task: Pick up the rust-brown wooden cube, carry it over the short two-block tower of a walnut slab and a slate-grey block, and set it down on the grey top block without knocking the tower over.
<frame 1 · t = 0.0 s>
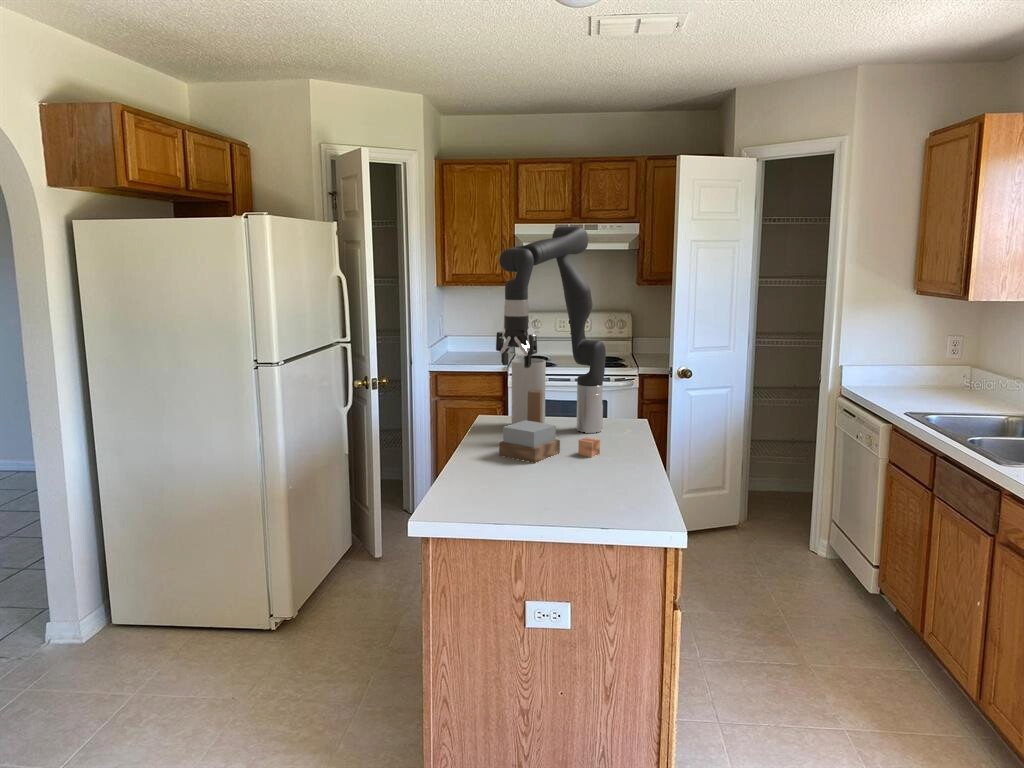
hand: (516, 366, 230), 29 cm above the countertop, tool pointing down, fingers open, 8 cm apart
tower top block: (529, 441, 237), point 5 cm above the countertop
wooden block: (541, 443, 254), on the countertop
tower base block: (529, 456, 238), on the countertop
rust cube: (589, 454, 239), on the countertop
cylinder vase: (528, 427, 276), on the countertop
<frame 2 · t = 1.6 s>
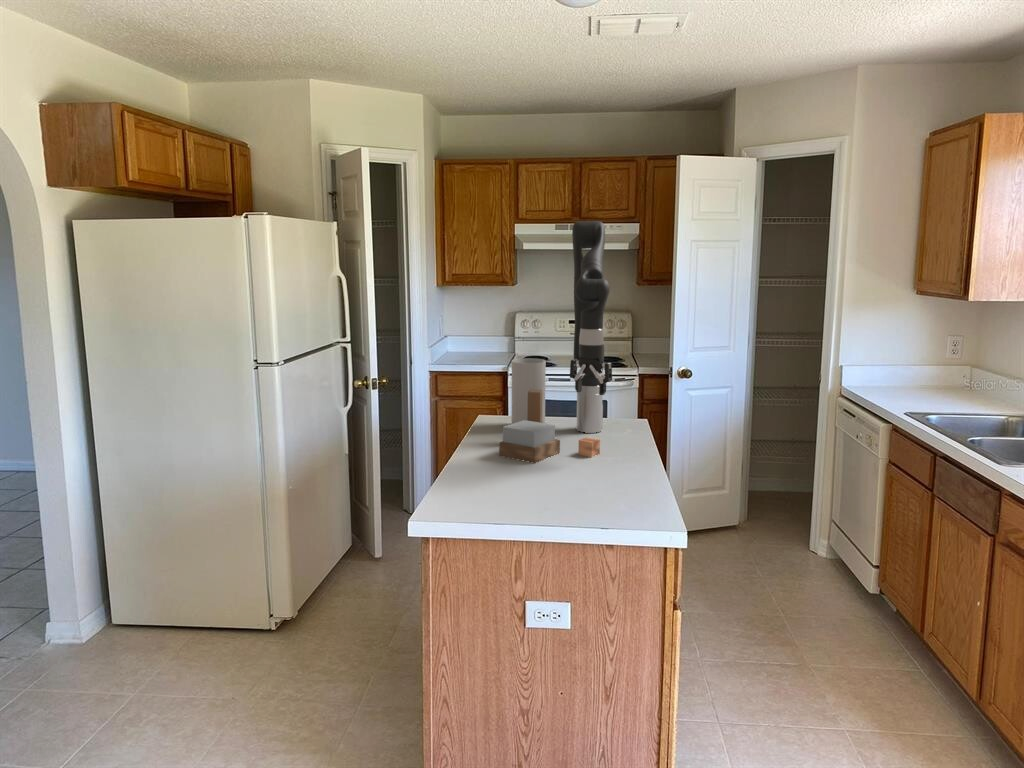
hand: (590, 393, 235), 20 cm above the countertop, tool pointing down, fingers open, 8 cm apart
tower top block: (528, 441, 238), point 5 cm above the countertop, touching tower base block
tower base block: (529, 456, 238), on the countertop, touching tower top block
everything else where it was.
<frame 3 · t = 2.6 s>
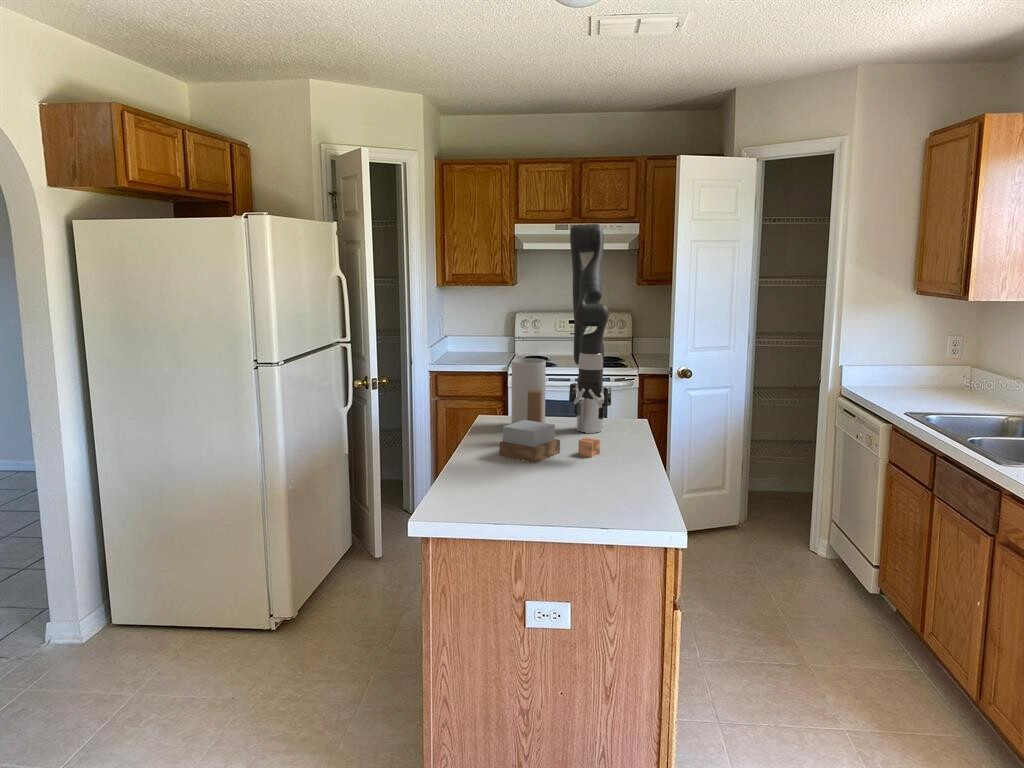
hand: (589, 417, 236), 12 cm above the countertop, tool pointing down, fingers open, 8 cm apart
tower top block: (528, 440, 238), point 5 cm above the countertop
tower base block: (529, 455, 238), on the countertop
everything else where it was.
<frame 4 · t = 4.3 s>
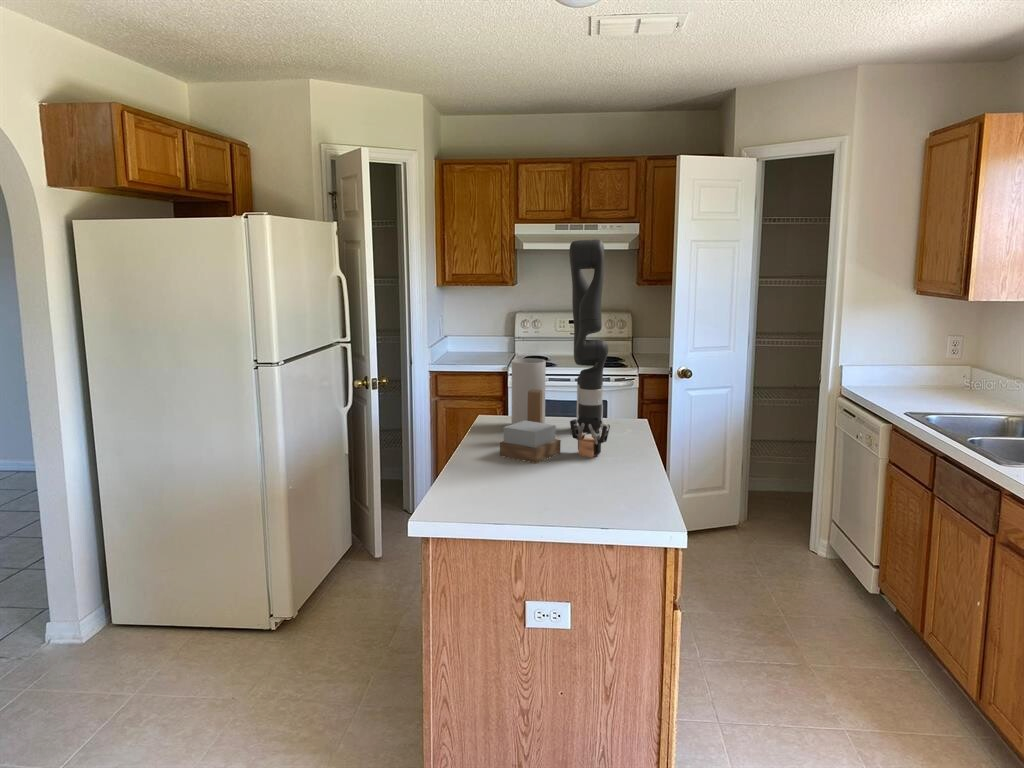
hand: (589, 453, 239), 0 cm above the countertop, tool pointing down, fingers closed on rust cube, 5 cm apart
tower top block: (529, 441, 237), point 4 cm above the countertop, touching tower base block
tower base block: (530, 456, 238), on the countertop, touching tower top block
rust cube: (589, 454, 239), on the countertop, touching gripper
everything else where it was.
when the fingers open (11 cm above the countertop, at t = 11.6 s): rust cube drops 1 cm, resting on tower top block.
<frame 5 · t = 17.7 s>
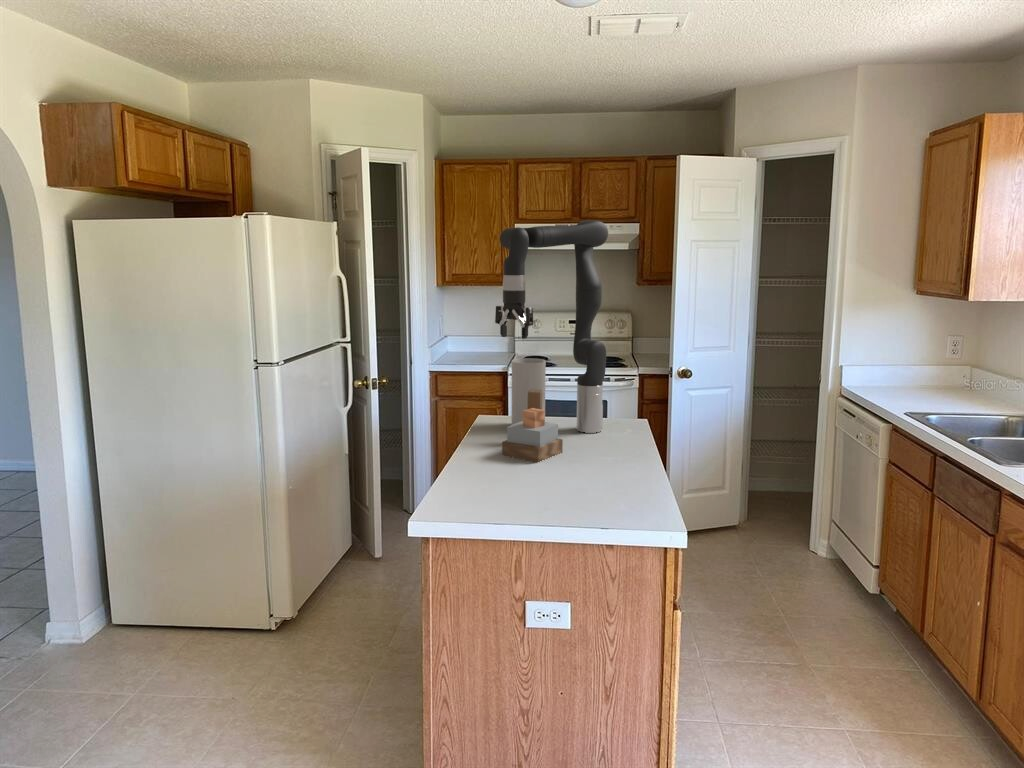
hand: (514, 337, 248), 36 cm above the countertop, tool pointing down, fingers open, 8 cm apart
tower top block: (532, 440, 238), point 5 cm above the countertop, touching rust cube, tower base block
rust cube: (533, 425, 237), point 10 cm above the countertop, touching tower top block
at the end: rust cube 0.4 cm off-centre on the tower top block, point 5.0 cm above the tower top block's base; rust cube tilted 0°; tower top block moved 1.4 cm from its start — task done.
